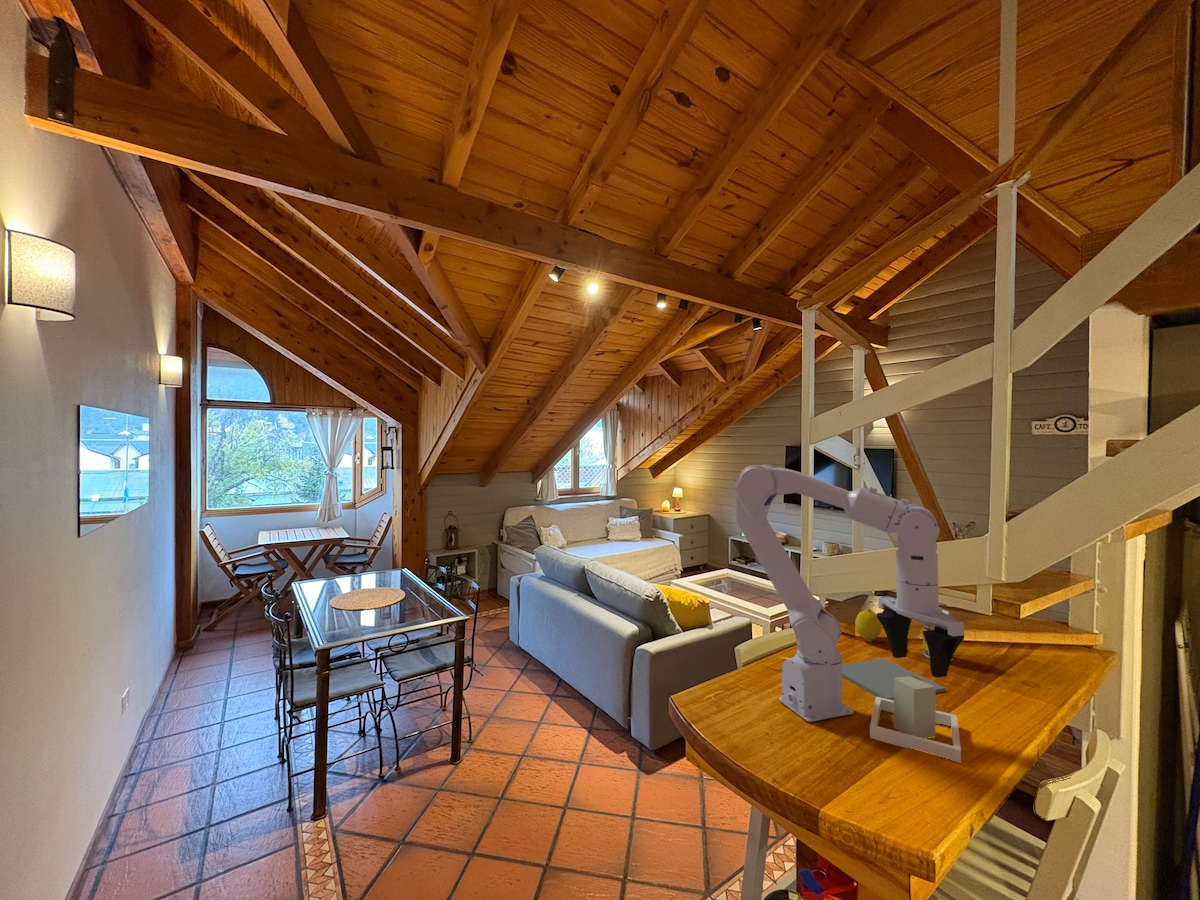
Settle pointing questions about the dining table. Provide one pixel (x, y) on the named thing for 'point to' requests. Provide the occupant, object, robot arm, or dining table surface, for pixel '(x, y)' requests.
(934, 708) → the block
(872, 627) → the fruit
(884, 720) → the dining table surface
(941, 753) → the rectangular frame
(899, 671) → the mat
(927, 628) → the supplement bottle
